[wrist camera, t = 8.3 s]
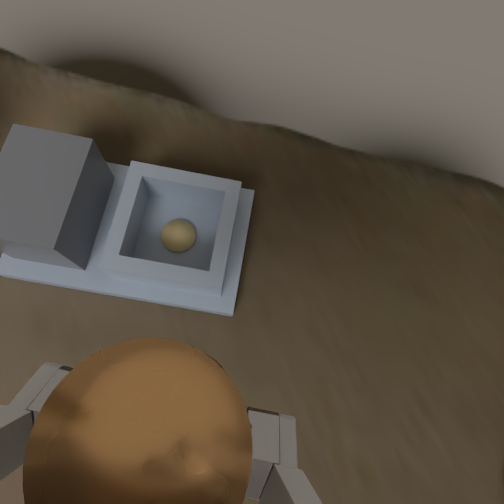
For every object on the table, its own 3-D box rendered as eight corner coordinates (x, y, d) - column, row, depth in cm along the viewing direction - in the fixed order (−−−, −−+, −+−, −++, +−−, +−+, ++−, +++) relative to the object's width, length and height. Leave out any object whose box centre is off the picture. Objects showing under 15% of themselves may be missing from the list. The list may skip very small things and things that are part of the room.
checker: (253, 197, 34) (262, 154, 27) (232, 316, 31) (237, 303, 24) (51, 159, 34) (7, 104, 26) (4, 277, 30) (-62, 251, 23)
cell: (243, 357, 16) (266, 355, 8) (224, 476, 14) (232, 606, 7) (139, 340, 16) (66, 322, 8) (109, 459, 14) (-16, 573, 7)
